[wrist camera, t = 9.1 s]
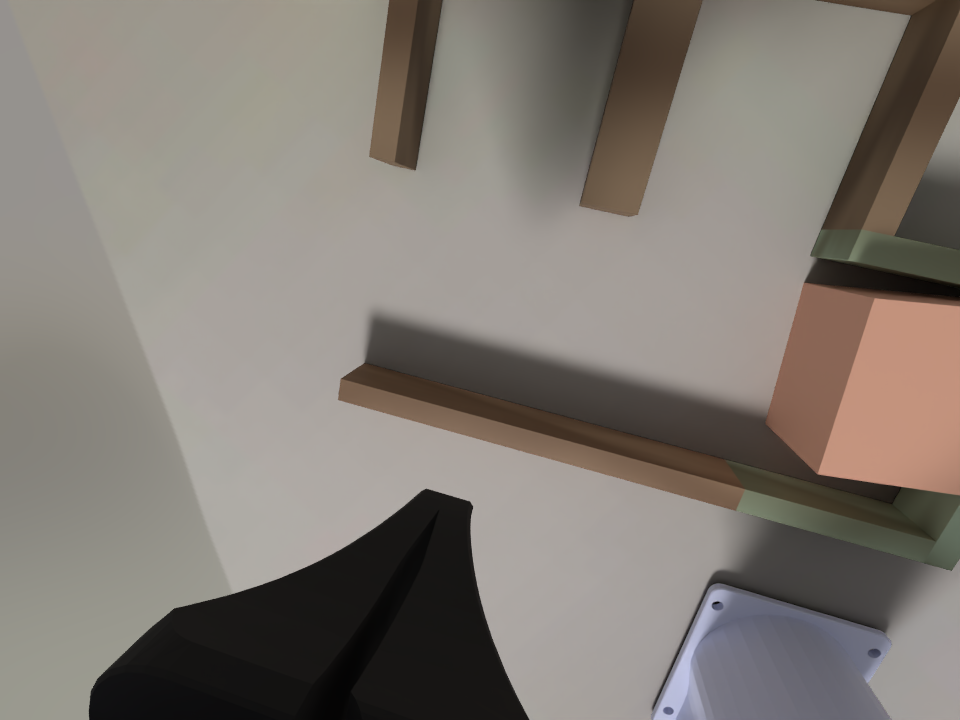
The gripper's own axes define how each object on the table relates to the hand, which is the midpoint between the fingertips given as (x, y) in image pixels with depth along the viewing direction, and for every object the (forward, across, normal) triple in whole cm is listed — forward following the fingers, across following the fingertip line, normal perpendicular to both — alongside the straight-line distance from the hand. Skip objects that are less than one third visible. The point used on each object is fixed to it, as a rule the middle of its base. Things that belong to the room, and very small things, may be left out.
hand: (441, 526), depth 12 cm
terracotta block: (+10, -14, -5) cm, 18 cm away
